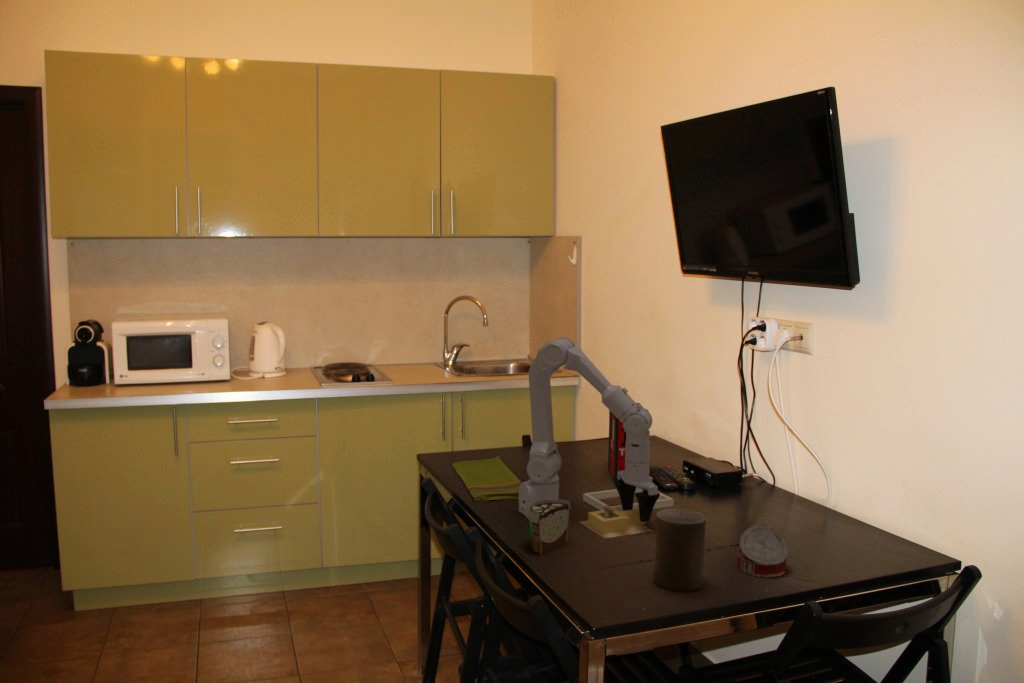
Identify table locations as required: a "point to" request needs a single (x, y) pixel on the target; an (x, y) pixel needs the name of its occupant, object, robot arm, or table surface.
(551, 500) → the food container
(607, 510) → the board
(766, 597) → the table surface
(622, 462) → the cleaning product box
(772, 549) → the canned food
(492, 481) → the dish towel
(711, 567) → the table surface
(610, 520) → the tabbed collar
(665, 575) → the pillar candle
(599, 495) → the tray
